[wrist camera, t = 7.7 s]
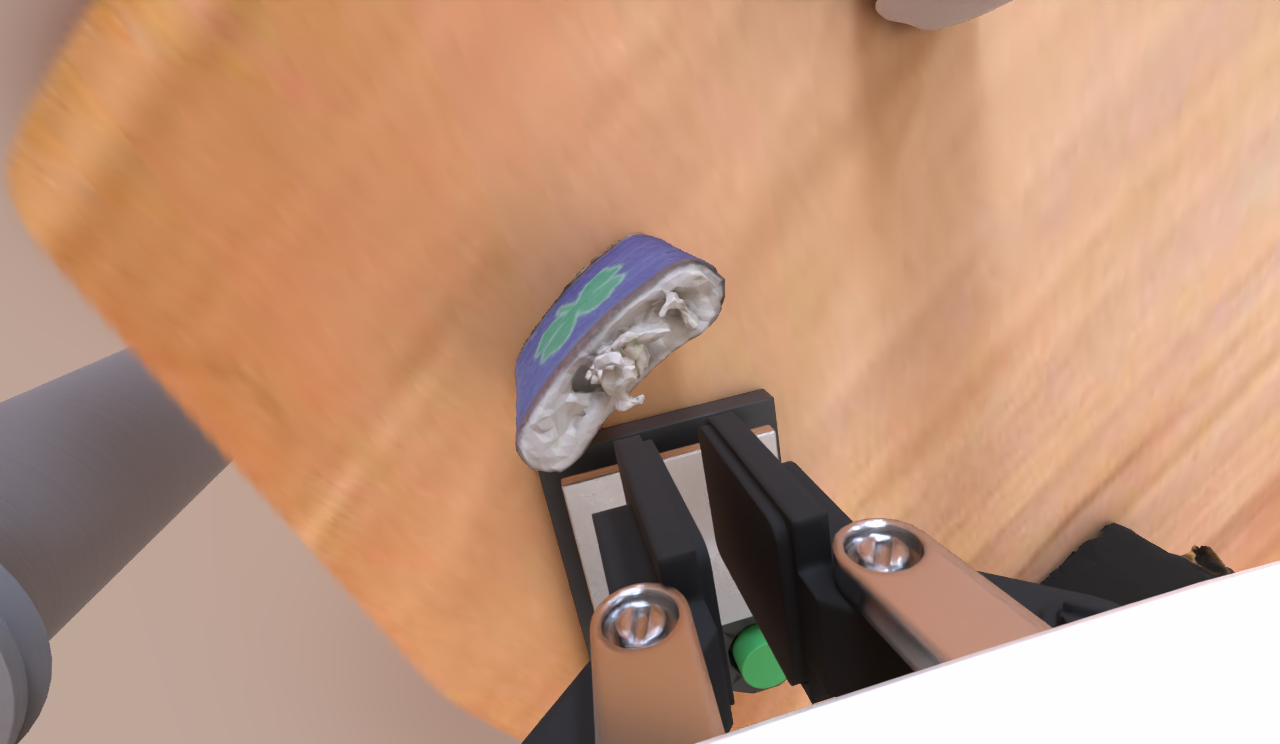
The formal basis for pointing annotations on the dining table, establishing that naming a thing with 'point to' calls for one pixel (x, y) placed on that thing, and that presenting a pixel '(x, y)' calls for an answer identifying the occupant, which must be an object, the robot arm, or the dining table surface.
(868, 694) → the robot arm
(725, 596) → the pan
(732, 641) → the scale
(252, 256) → the dining table surface
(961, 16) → the bottle
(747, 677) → the tare button
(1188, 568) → the film camera
